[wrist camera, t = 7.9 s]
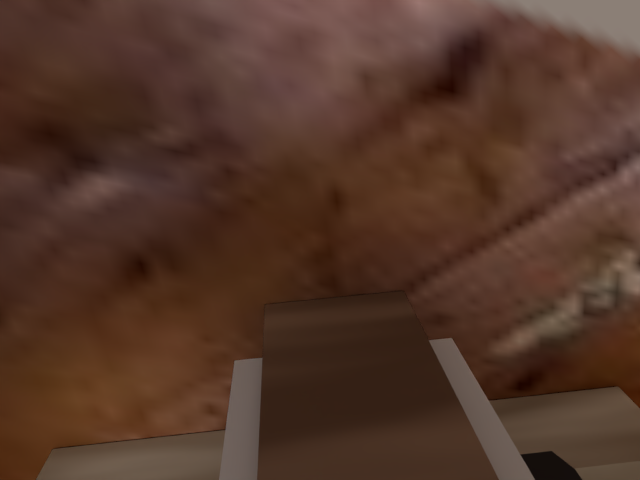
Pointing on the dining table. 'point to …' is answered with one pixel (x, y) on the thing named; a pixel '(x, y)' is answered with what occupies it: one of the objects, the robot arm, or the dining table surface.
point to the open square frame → (371, 411)
